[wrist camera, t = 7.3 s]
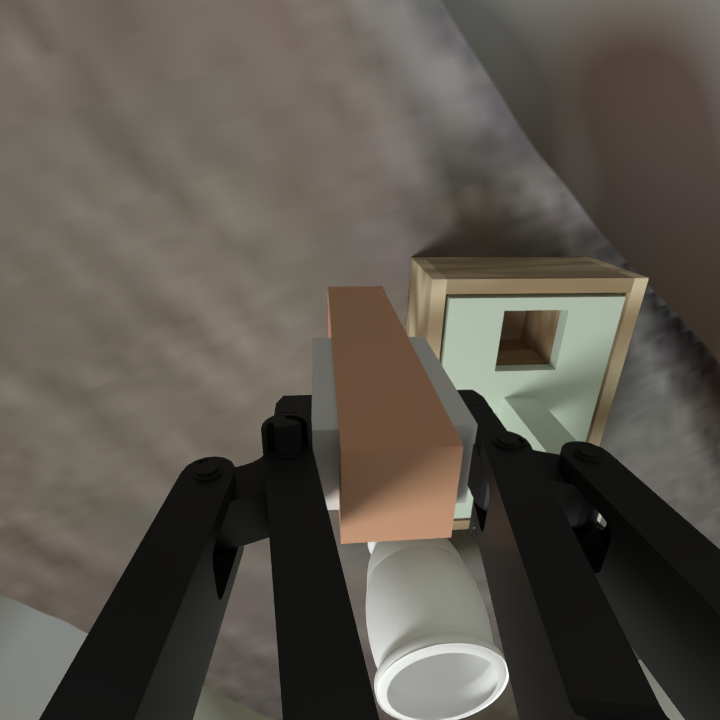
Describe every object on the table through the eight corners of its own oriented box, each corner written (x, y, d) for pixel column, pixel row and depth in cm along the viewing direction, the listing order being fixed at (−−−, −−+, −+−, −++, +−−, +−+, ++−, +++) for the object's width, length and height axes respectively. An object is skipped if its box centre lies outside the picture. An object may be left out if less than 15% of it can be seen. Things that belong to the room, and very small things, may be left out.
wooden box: (411, 257, 35) (432, 279, 29) (590, 256, 36) (648, 278, 30) (396, 478, 44) (410, 532, 38) (540, 471, 46) (577, 522, 39)
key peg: (327, 286, 24) (340, 450, 11) (382, 286, 24) (463, 445, 11) (328, 338, 25) (340, 543, 12) (380, 337, 26) (451, 537, 12)
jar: (468, 507, 47) (531, 651, 33) (435, 576, 51) (479, 729, 37) (373, 492, 45) (398, 638, 31) (346, 564, 49) (358, 722, 35)
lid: (445, 294, 30) (505, 357, 21) (616, 292, 31) (747, 351, 22) (423, 511, 38) (459, 628, 29) (560, 503, 39) (638, 614, 30)
